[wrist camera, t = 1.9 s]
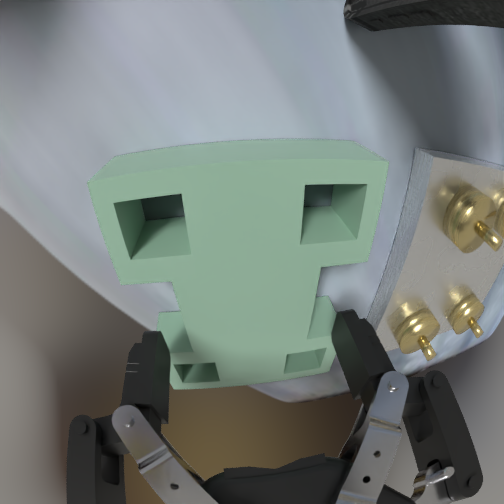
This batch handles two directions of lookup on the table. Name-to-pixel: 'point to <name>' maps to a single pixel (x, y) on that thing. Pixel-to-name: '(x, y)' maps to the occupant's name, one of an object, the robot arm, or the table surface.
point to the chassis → (441, 252)
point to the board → (242, 249)
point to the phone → (424, 13)
